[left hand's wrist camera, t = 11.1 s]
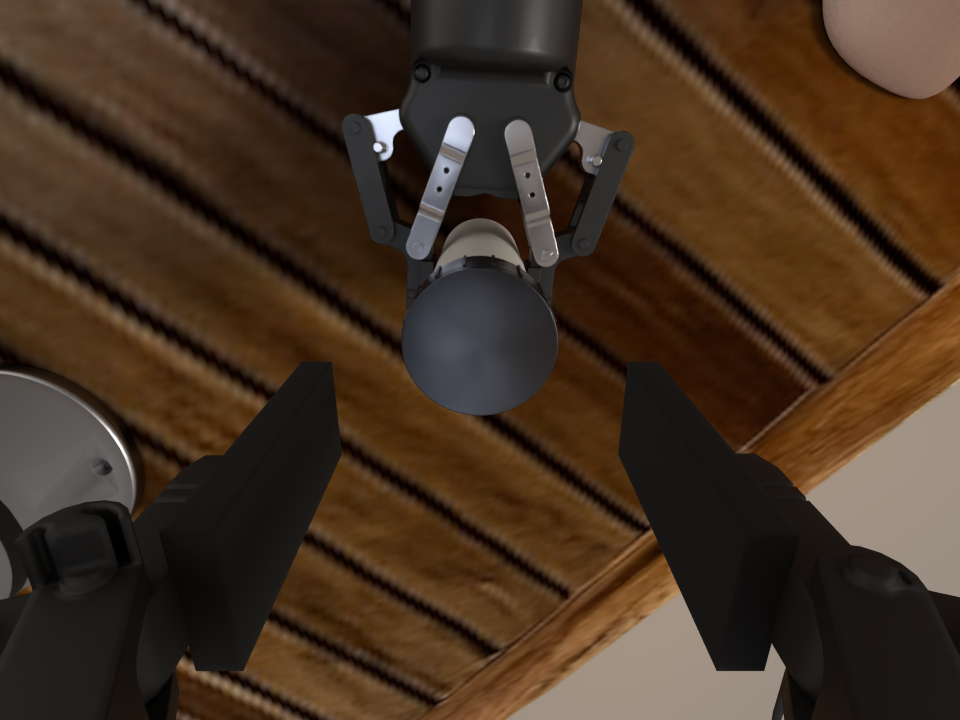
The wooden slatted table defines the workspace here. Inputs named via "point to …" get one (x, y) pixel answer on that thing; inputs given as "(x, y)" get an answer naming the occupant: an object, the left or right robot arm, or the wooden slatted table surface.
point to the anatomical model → (898, 42)
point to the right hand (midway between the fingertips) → (477, 326)
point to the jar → (480, 242)
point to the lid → (479, 336)
